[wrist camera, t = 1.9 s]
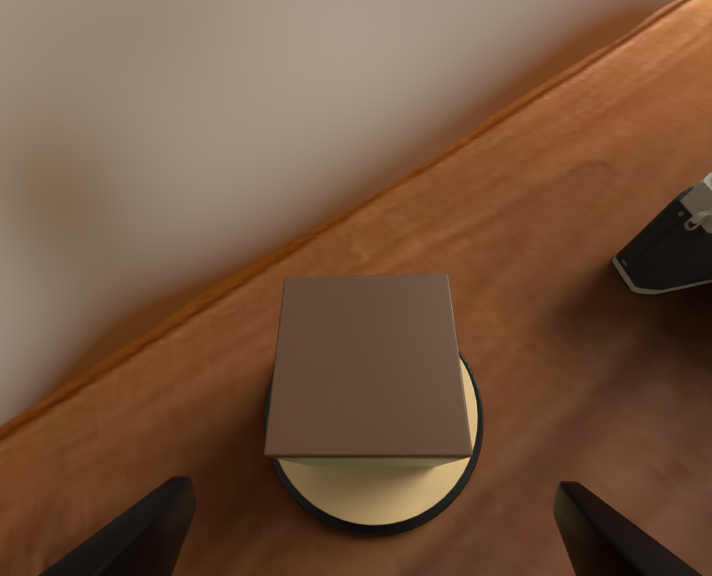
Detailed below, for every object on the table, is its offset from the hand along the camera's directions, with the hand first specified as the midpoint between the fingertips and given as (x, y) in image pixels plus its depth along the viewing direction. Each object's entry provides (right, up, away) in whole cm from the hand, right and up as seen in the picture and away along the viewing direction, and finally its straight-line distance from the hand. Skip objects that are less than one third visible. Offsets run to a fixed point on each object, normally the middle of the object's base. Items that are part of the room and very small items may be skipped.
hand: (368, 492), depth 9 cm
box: (0, -1, +11) cm, 11 cm away
